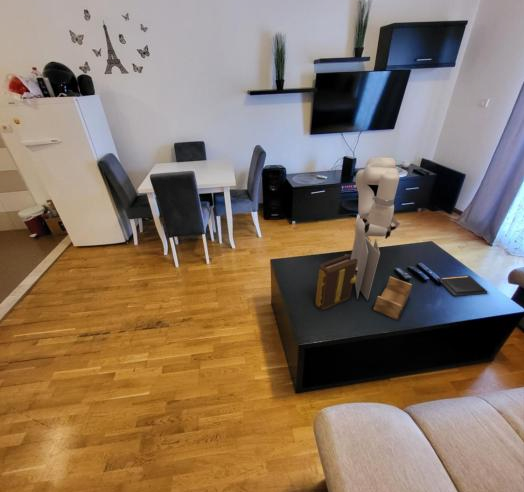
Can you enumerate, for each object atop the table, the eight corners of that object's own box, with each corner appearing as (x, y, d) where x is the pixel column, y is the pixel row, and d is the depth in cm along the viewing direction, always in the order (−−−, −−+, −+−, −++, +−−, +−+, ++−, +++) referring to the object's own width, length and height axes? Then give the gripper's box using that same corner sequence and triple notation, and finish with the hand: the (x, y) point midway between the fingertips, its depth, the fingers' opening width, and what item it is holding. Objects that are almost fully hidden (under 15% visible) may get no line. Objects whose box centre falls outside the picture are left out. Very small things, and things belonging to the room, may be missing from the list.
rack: (372, 309, 142) (376, 296, 137) (385, 289, 155) (389, 276, 149) (397, 320, 136) (402, 306, 130) (408, 297, 148) (413, 284, 143)
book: (322, 312, 141) (327, 273, 127) (312, 301, 147) (316, 263, 133) (355, 297, 149) (363, 259, 135) (344, 288, 156) (351, 251, 142)
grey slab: (367, 300, 147) (380, 253, 130) (356, 299, 148) (367, 252, 131) (365, 283, 159) (376, 238, 142) (355, 282, 160) (364, 237, 143)
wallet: (454, 293, 147) (437, 276, 160) (452, 296, 148) (436, 278, 161) (490, 291, 148) (470, 274, 161) (488, 294, 149) (469, 276, 162)
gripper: (362, 199, 126) (355, 232, 135) (402, 208, 117) (392, 243, 126) (368, 194, 131) (361, 226, 140) (407, 202, 122) (397, 236, 131)
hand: (376, 234), depth 133 cm, fingers open, 9 cm apart
